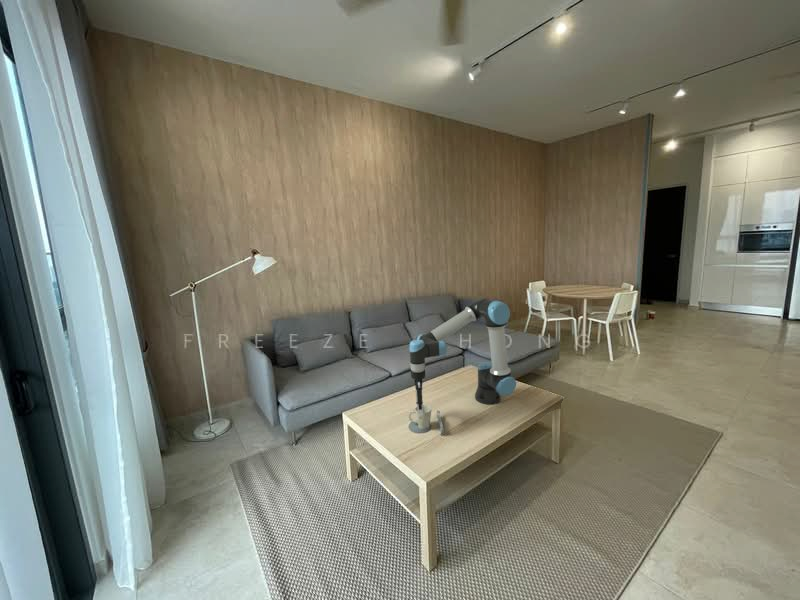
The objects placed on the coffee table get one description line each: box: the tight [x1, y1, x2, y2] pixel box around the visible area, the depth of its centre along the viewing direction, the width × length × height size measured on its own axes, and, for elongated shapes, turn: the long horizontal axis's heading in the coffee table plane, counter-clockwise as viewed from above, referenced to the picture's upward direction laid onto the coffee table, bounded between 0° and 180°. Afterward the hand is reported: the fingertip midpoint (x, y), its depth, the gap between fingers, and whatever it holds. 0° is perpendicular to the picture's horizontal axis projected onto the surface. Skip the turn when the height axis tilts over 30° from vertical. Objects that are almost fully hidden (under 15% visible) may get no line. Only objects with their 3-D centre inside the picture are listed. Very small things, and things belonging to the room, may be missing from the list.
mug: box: [407, 404, 432, 429], centre depth 168 cm, size 8×13×10 cm, turn 78°
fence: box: [436, 410, 445, 437], centre depth 168 cm, size 2×18×4 cm, turn 0°
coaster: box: [408, 419, 432, 434], centre depth 169 cm, size 12×12×1 cm
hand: (419, 407), depth 167 cm, fingers open, 13 cm apart
